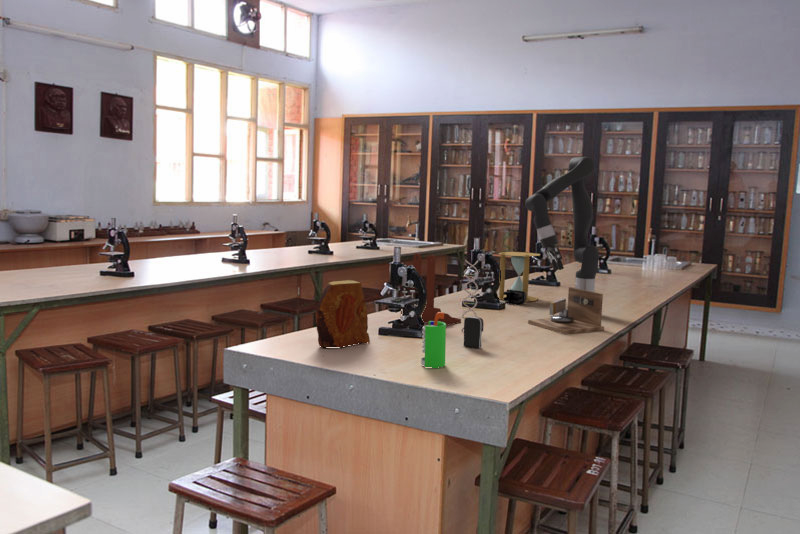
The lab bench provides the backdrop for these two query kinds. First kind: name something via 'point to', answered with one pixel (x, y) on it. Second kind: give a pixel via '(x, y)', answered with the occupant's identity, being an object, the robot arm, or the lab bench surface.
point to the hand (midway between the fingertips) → (559, 269)
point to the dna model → (471, 289)
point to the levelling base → (578, 313)
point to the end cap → (515, 297)
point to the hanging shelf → (431, 292)
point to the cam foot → (560, 312)
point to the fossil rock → (342, 315)
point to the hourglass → (520, 265)
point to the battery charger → (473, 331)
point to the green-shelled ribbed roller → (434, 343)
